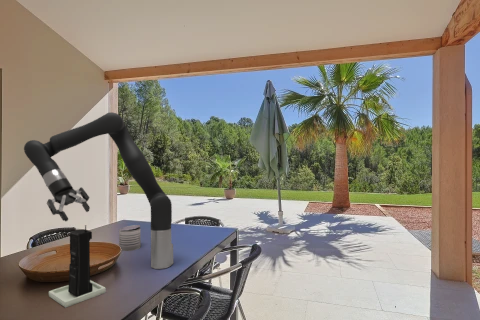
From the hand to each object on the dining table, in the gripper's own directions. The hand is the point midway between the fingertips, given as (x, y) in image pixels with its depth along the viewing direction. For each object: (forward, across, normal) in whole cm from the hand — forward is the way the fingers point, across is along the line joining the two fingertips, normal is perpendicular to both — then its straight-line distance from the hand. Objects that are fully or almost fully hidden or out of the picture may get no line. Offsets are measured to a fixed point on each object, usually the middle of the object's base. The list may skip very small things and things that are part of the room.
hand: (77, 215), depth 119 cm
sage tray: (+26, -12, +5) cm, 29 cm away
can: (+18, +30, +42) cm, 55 cm away
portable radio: (+26, -12, +5) cm, 29 cm away
